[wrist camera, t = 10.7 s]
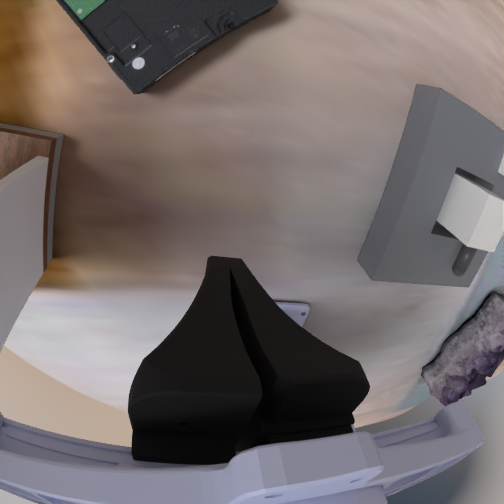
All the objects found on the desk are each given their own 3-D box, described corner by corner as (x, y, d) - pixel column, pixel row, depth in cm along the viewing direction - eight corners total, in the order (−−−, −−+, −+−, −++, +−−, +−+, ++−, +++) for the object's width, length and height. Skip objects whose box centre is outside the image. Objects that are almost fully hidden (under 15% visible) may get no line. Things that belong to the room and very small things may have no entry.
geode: (439, 379, 44) (457, 422, 36) (404, 365, 41) (424, 417, 33) (518, 298, 36) (549, 337, 27) (496, 270, 33) (535, 314, 24)
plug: (441, 248, 27) (476, 284, 22) (411, 243, 26) (448, 282, 21) (470, 179, 23) (514, 206, 18) (442, 166, 22) (489, 194, 17)
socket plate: (454, 271, 29) (472, 291, 26) (357, 260, 26) (375, 286, 23) (507, 141, 22) (533, 153, 18) (416, 84, 18) (448, 89, 15)
